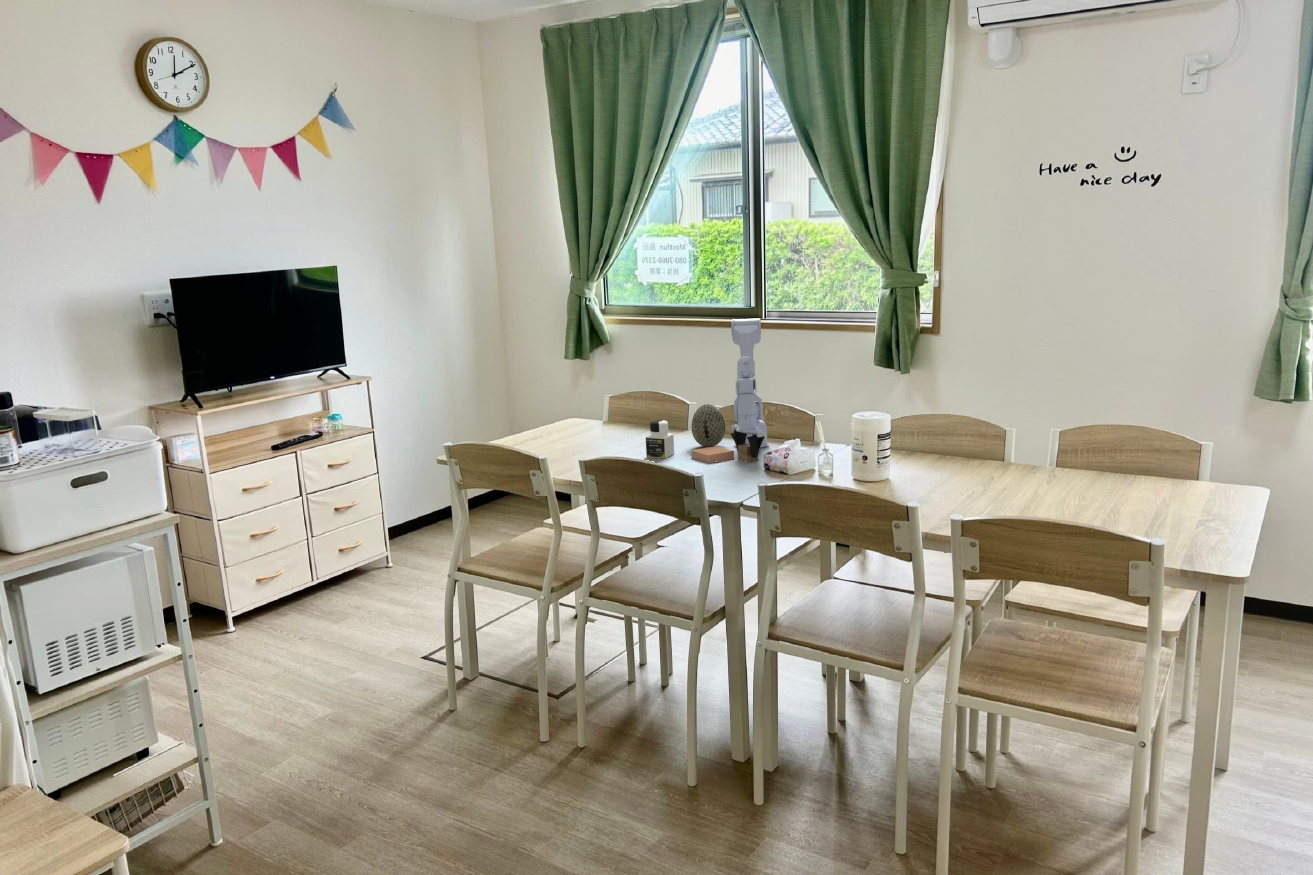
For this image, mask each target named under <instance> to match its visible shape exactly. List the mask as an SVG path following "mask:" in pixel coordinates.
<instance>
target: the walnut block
mask: <svg viewBox="0 0 1313 875" xmlns="http://www.w3.org/2000/svg"><path fill="white" fill-rule="evenodd" d="M737 458H738V459H737V460H738V461H741V460H742V461H741V462H744V461H746V462H745V463H749V461H750V462H755V461H759V456H758V457H756V458H752V456H751V449H750V444H749V443H746V444H741V445H738V451H737ZM754 460H755V461H754Z"/></svg>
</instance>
